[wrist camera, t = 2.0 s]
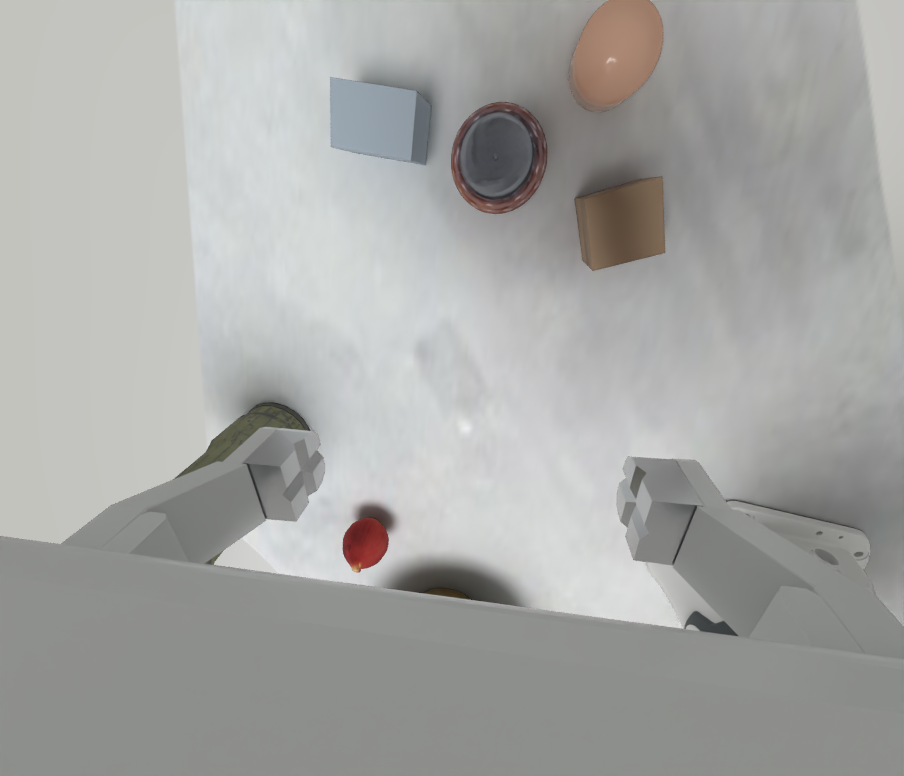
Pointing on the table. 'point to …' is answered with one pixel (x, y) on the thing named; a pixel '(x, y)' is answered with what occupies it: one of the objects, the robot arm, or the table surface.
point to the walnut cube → (621, 223)
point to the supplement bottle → (499, 157)
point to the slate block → (379, 120)
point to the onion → (365, 543)
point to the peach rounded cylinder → (615, 53)
